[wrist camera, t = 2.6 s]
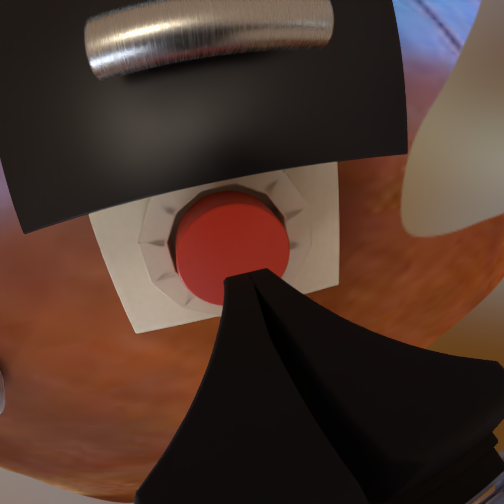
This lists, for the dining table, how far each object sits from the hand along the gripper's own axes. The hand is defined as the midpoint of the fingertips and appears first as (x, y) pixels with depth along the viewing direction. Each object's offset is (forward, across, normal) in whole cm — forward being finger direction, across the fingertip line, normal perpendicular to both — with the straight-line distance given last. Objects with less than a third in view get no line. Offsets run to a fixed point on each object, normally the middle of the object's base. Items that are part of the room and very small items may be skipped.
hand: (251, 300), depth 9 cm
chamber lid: (+2, 0, -9) cm, 10 cm away
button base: (+7, 0, +1) cm, 7 cm away
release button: (+4, 0, 0) cm, 4 cm away
